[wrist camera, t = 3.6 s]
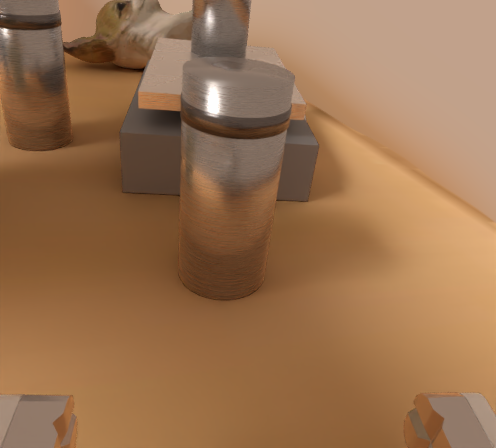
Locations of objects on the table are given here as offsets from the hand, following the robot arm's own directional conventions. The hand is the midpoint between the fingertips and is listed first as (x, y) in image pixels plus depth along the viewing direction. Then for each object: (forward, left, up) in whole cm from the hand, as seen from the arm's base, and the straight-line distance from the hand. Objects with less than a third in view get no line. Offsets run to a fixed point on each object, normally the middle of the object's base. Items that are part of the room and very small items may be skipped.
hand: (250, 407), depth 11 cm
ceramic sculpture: (-8, +48, -6) cm, 49 cm away
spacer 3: (0, +12, -5) cm, 13 cm away
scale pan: (0, +28, 0) cm, 27 cm away
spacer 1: (-13, +27, -5) cm, 30 cm away
